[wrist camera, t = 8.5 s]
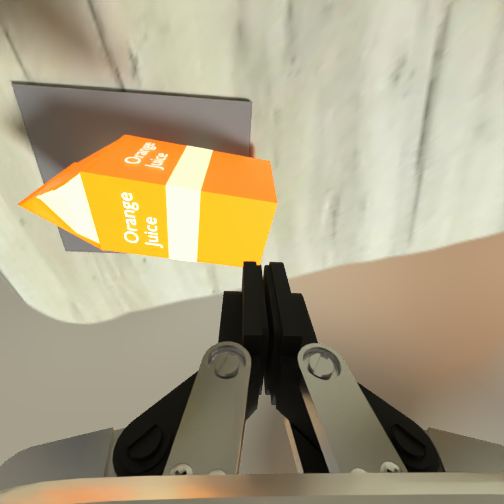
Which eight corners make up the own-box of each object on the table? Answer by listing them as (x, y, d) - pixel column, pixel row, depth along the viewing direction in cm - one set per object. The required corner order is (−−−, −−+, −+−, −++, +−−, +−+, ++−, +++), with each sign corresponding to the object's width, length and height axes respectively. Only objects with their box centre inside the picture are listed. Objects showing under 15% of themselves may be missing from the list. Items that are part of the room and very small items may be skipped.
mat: (16, 84, 24) (11, 83, 24) (251, 102, 26) (252, 101, 25) (68, 249, 32) (65, 251, 32) (243, 255, 34) (243, 257, 33)
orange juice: (270, 159, 26) (64, 121, 23) (277, 202, 19) (-9, 155, 17) (255, 220, 31) (85, 195, 28) (257, 271, 24) (35, 244, 22)
